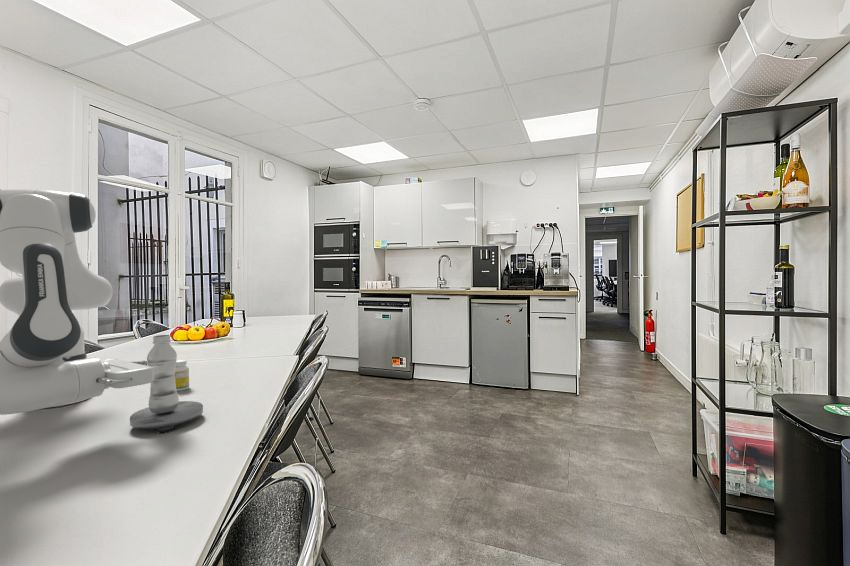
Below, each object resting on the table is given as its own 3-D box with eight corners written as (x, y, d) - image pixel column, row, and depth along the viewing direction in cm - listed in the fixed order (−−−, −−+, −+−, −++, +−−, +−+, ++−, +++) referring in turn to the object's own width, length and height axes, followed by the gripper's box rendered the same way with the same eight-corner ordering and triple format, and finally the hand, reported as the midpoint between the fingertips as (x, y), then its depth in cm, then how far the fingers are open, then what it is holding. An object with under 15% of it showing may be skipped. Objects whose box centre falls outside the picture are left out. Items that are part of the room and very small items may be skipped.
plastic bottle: (165, 417, 98) (163, 338, 97) (141, 416, 99) (139, 337, 98) (185, 408, 104) (182, 334, 104) (162, 407, 105) (160, 333, 105)
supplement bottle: (189, 389, 132) (189, 361, 132) (171, 392, 129) (170, 363, 129) (188, 385, 136) (188, 358, 136) (170, 388, 133) (169, 360, 133)
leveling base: (118, 426, 99) (117, 415, 99) (183, 408, 113) (183, 397, 113) (149, 440, 91) (149, 427, 91) (215, 418, 105) (215, 407, 105)
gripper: (108, 369, 82) (177, 357, 94) (69, 359, 93) (136, 349, 105) (109, 399, 82) (177, 383, 94) (70, 386, 93) (136, 373, 105)
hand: (155, 365), depth 100 cm, fingers open, 8 cm apart
